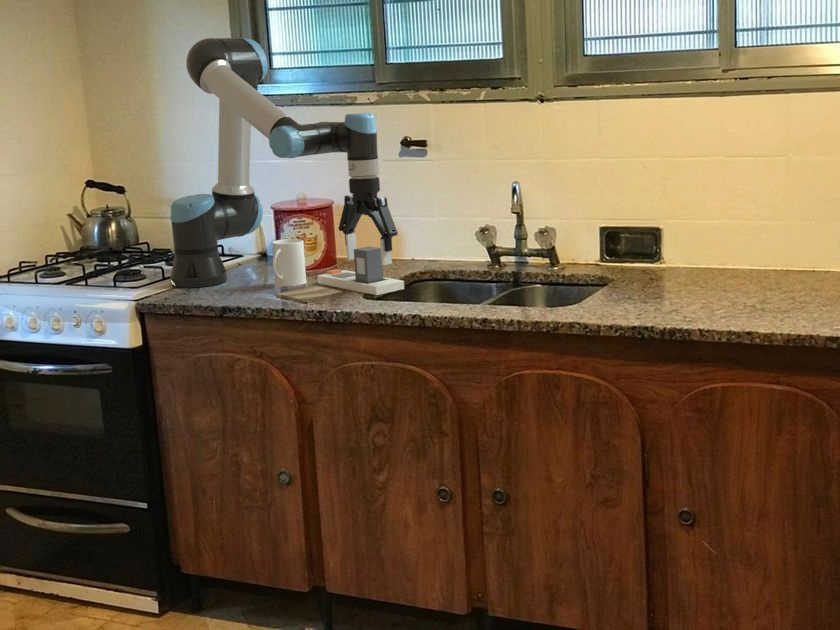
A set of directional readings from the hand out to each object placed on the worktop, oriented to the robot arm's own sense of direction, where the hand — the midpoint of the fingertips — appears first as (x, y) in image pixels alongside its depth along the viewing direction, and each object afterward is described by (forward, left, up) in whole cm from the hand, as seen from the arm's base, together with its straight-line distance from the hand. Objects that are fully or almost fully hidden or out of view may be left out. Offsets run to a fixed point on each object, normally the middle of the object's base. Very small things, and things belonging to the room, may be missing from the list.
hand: (369, 261), depth 259 cm
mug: (-22, -10, -8) cm, 26 cm away
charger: (0, 0, -7) cm, 7 cm away
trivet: (-8, -13, -8) cm, 17 cm away
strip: (-7, 0, -8) cm, 11 cm away
